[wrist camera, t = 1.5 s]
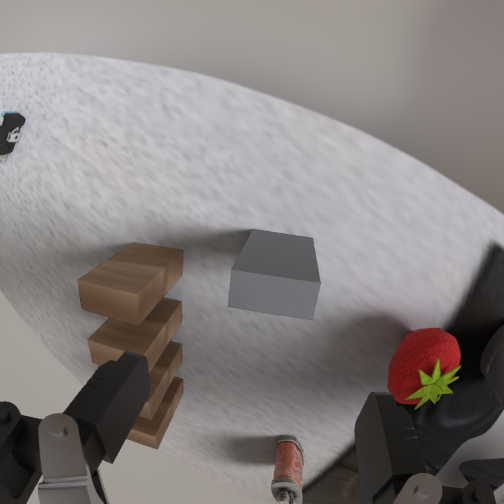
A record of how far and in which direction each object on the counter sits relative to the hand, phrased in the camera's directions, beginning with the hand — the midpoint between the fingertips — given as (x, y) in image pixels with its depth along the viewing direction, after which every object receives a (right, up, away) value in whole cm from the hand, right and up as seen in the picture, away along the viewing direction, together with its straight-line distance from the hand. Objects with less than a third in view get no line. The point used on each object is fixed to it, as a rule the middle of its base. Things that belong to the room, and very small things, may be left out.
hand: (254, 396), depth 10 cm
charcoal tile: (+2, +5, +16) cm, 17 cm away
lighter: (+5, -22, +25) cm, 33 cm away
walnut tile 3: (-9, -1, +20) cm, 22 cm away
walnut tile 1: (-11, -10, +23) cm, 27 cm away
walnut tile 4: (-9, +4, +18) cm, 20 cm away
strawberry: (+15, -3, +17) cm, 23 cm away
